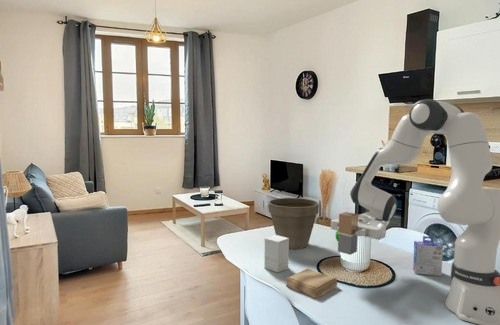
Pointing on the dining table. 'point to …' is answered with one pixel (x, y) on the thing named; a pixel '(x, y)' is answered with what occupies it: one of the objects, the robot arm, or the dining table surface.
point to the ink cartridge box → (428, 257)
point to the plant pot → (294, 219)
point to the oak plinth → (311, 283)
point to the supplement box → (276, 253)
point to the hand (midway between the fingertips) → (346, 231)
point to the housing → (347, 233)
